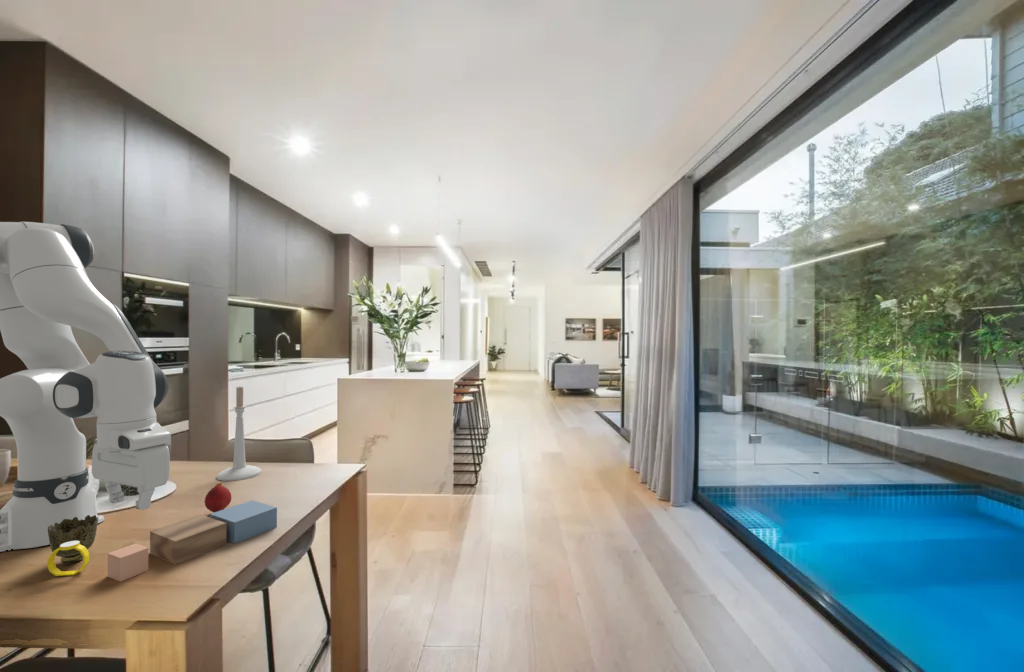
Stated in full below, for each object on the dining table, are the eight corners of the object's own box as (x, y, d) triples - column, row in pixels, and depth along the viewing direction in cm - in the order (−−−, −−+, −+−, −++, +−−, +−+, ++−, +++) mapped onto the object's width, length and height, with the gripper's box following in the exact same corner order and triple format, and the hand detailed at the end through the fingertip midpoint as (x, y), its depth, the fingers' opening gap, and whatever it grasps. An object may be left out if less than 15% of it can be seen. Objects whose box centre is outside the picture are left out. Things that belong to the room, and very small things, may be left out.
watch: (43, 580, 83) (43, 548, 83) (54, 573, 86) (54, 542, 86) (82, 576, 85) (82, 544, 85) (92, 568, 88) (92, 538, 88)
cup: (38, 573, 86) (38, 532, 86) (58, 556, 92) (59, 518, 93) (88, 565, 89) (88, 525, 89) (104, 549, 95) (104, 512, 96)
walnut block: (150, 554, 94) (150, 531, 94) (201, 536, 103) (201, 514, 103) (175, 566, 89) (175, 541, 89) (226, 545, 98) (226, 523, 98)
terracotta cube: (107, 576, 85) (107, 553, 85) (135, 565, 89) (135, 543, 89) (120, 582, 83) (120, 558, 83) (148, 570, 87) (148, 547, 87)
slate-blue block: (209, 535, 103) (209, 513, 103) (252, 520, 112) (252, 500, 112) (234, 544, 98) (234, 522, 98) (276, 528, 107) (276, 507, 107)
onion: (217, 518, 112) (218, 487, 112) (198, 516, 113) (199, 485, 113) (236, 510, 118) (236, 480, 118) (218, 508, 119) (218, 478, 119)
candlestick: (253, 479, 143) (253, 387, 144) (209, 482, 141) (209, 388, 141) (266, 468, 156) (266, 383, 156) (226, 470, 153) (226, 384, 153)
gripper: (79, 434, 87) (81, 504, 87) (137, 441, 79) (139, 519, 79) (118, 427, 93) (120, 493, 93) (176, 434, 84) (178, 506, 84)
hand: (129, 505), depth 86 cm, fingers open, 8 cm apart
